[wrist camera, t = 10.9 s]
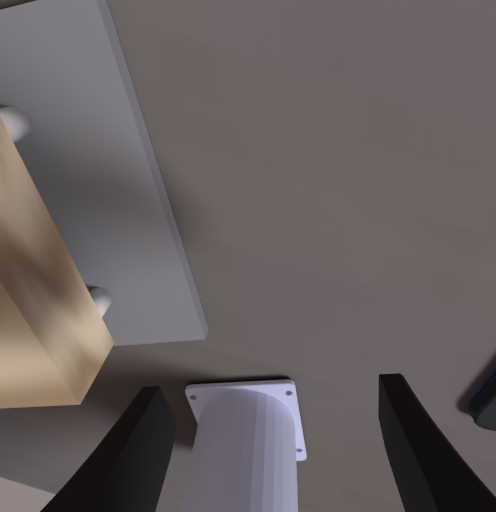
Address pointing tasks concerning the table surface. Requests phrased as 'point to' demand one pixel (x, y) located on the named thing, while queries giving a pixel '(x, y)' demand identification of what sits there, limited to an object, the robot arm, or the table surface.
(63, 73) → the peg stand
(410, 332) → the table surface
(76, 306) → the shelf board
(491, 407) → the handheld game console
